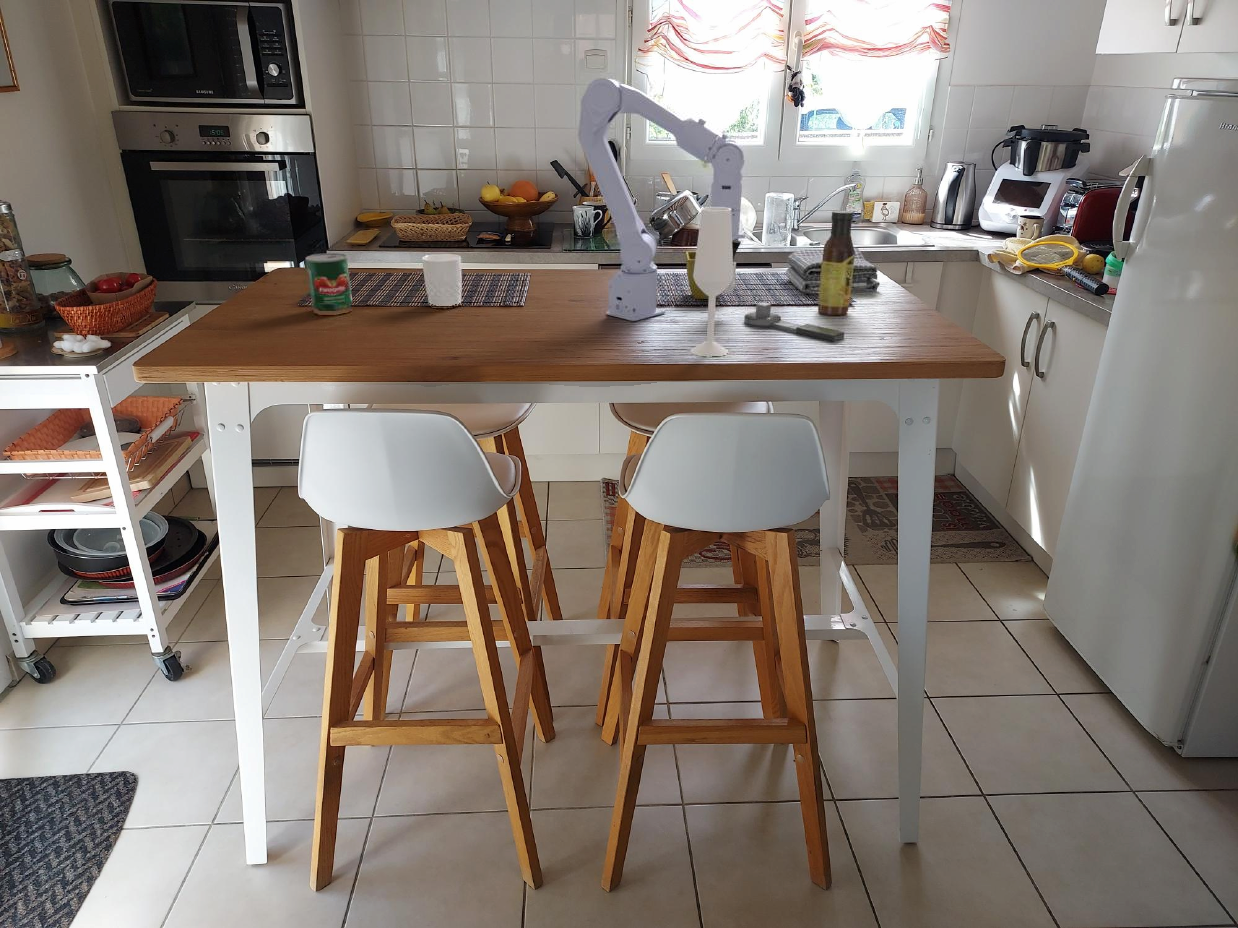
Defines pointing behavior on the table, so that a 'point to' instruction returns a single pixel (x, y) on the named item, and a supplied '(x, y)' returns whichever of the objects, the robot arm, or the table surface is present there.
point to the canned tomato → (329, 281)
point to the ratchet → (789, 325)
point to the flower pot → (694, 288)
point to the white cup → (443, 279)
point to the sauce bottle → (837, 266)
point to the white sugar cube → (732, 284)
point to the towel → (809, 271)
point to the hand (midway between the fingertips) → (721, 281)
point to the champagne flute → (713, 267)
